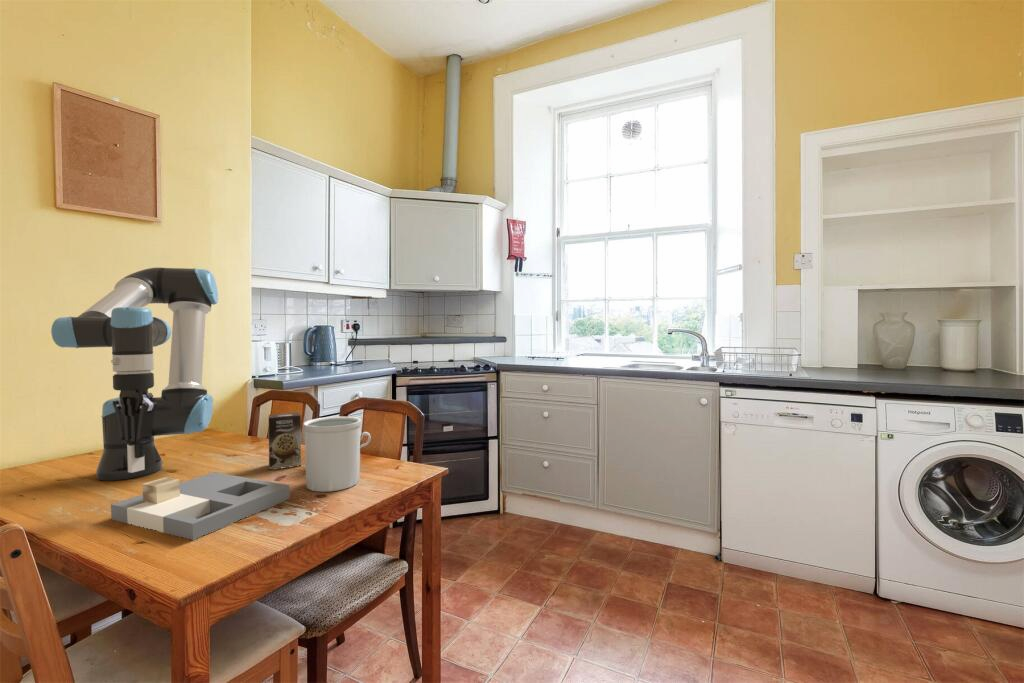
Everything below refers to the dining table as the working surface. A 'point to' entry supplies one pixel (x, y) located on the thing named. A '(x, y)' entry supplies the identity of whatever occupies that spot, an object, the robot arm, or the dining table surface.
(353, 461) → the utensil holder
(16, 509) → the dining table surface
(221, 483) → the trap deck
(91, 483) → the dining table surface
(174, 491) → the birch block
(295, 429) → the coffee box
